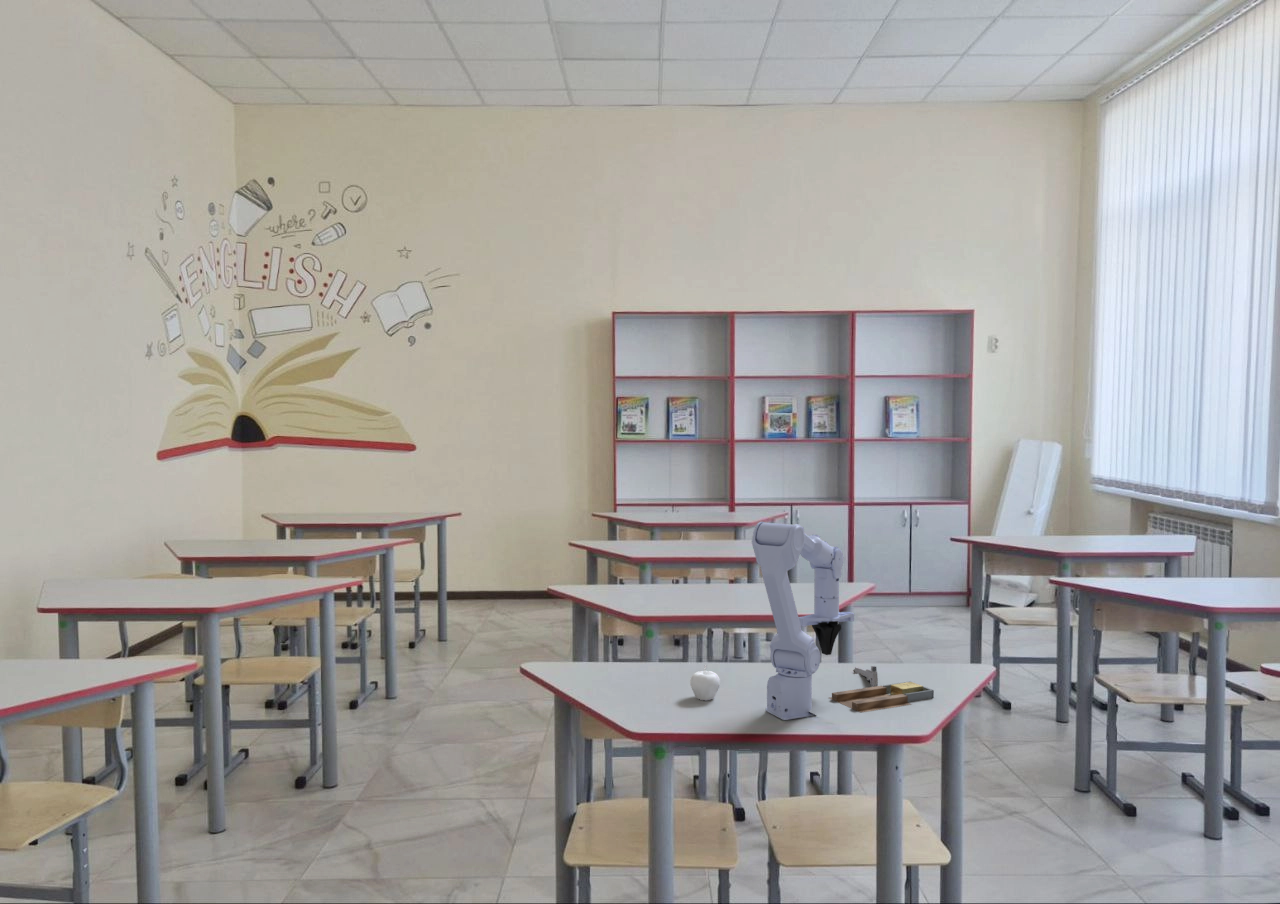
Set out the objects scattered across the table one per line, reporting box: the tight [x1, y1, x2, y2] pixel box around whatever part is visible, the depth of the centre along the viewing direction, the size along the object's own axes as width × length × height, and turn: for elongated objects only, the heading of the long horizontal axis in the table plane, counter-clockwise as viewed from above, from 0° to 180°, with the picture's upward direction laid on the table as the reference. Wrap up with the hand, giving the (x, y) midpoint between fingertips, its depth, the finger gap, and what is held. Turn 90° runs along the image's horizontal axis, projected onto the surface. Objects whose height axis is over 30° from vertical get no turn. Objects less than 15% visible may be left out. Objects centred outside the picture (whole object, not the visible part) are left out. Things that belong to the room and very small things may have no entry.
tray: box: [882, 681, 935, 703], centre depth 217 cm, size 8×8×3 cm
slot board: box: [829, 685, 913, 713], centre depth 212 cm, size 14×12×3 cm
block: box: [890, 681, 924, 696], centre depth 217 cm, size 6×4×3 cm, turn 114°
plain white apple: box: [689, 664, 721, 701], centre depth 219 cm, size 7×7×8 cm
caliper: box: [853, 665, 879, 687], centre depth 233 cm, size 20×1×6 cm, turn 0°
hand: (826, 653), depth 220 cm, fingers closed
